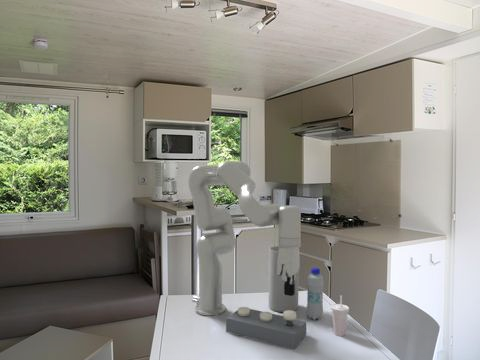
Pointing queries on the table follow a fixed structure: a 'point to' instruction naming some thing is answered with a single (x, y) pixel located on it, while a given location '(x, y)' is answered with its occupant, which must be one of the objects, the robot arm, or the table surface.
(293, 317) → the knob
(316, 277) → the bottle
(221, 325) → the table surface
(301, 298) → the table surface
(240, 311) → the knob
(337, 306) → the smoothie
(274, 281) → the cylinder vase
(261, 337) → the control panel
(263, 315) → the knob middle
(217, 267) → the robot arm
